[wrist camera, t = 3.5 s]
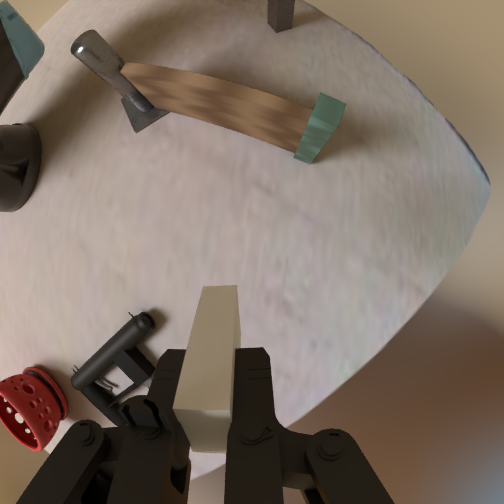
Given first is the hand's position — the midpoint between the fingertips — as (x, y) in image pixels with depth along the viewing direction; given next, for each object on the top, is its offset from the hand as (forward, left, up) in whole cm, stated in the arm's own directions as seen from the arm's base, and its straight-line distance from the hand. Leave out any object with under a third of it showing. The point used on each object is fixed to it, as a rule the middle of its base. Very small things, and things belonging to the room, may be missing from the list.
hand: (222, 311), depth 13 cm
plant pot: (-45, -5, -20) cm, 49 cm away
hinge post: (-2, +24, -19) cm, 31 cm away
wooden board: (+6, +15, -19) cm, 25 cm away
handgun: (-23, -8, -20) cm, 31 cm away
